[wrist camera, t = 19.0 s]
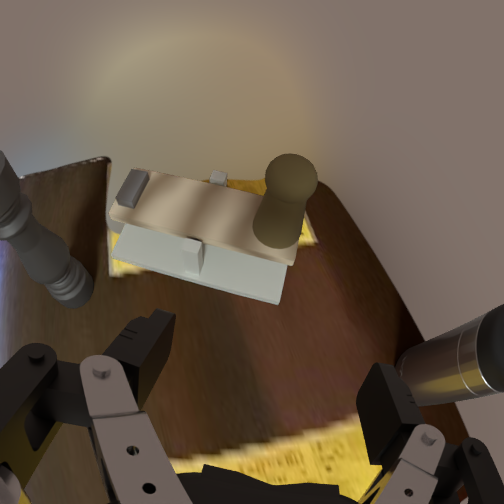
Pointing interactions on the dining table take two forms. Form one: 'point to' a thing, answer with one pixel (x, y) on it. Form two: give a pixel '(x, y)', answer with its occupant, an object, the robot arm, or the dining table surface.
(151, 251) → the beam stand
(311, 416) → the dining table surface
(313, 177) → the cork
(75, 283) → the candle holder
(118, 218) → the beam
